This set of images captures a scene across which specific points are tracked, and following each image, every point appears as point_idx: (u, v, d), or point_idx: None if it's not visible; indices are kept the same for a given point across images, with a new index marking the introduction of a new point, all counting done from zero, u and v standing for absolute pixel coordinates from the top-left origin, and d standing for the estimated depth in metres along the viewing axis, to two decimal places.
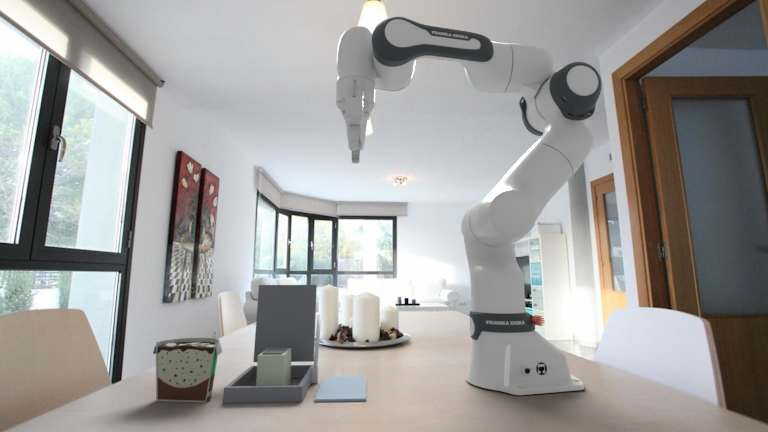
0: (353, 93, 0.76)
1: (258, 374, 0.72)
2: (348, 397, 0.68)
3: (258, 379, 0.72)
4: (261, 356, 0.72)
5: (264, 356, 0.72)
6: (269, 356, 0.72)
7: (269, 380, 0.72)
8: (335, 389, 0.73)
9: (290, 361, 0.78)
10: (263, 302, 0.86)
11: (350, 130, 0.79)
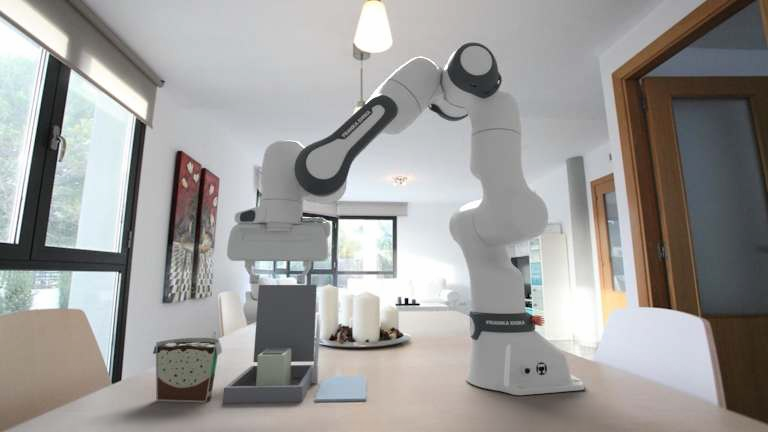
0: (328, 236, 0.80)
1: (258, 374, 0.72)
2: (348, 397, 0.68)
3: (258, 379, 0.72)
4: (261, 356, 0.72)
5: (264, 356, 0.72)
6: (269, 356, 0.72)
7: (269, 380, 0.72)
8: (335, 389, 0.73)
9: (290, 361, 0.78)
10: (263, 302, 0.86)
11: (309, 266, 0.78)
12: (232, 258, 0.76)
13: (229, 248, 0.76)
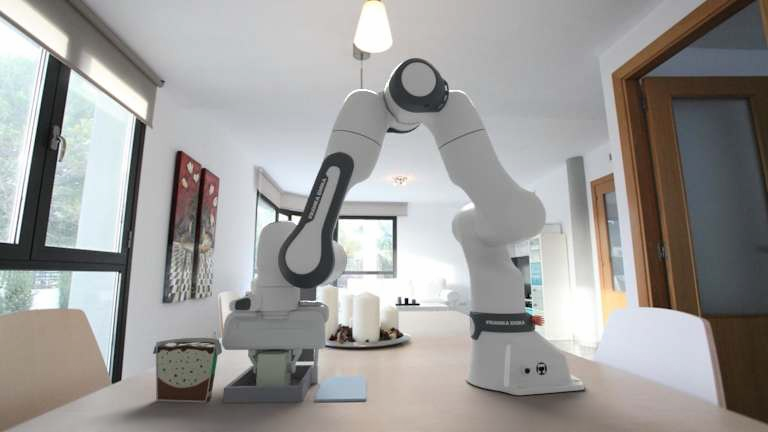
0: (327, 320, 0.77)
1: (258, 374, 0.72)
2: (348, 397, 0.68)
3: (258, 379, 0.72)
4: (261, 356, 0.72)
5: (264, 356, 0.72)
6: (269, 356, 0.72)
7: (269, 380, 0.72)
8: (335, 389, 0.73)
9: (290, 361, 0.78)
10: None
11: (300, 354, 0.75)
12: (227, 348, 0.74)
13: (224, 338, 0.74)
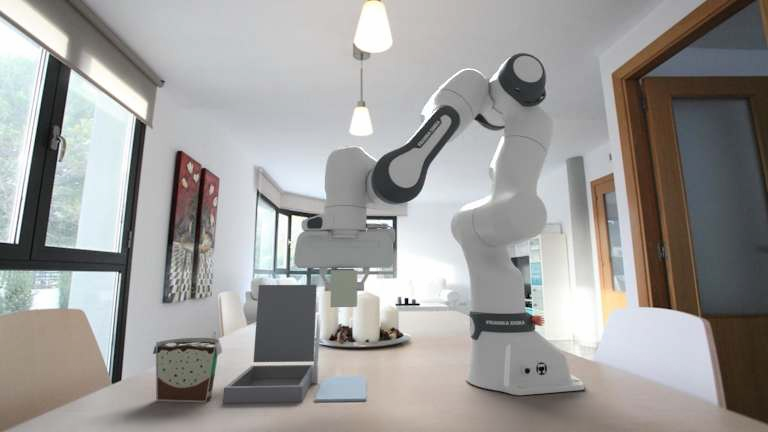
0: (393, 242, 0.79)
1: (332, 288, 0.74)
2: (348, 397, 0.68)
3: (332, 292, 0.74)
4: (334, 271, 0.74)
5: (337, 271, 0.74)
6: (342, 271, 0.74)
7: (343, 294, 0.74)
8: (335, 389, 0.73)
9: None
10: (263, 302, 0.86)
11: None
12: (299, 265, 0.76)
13: (296, 255, 0.76)
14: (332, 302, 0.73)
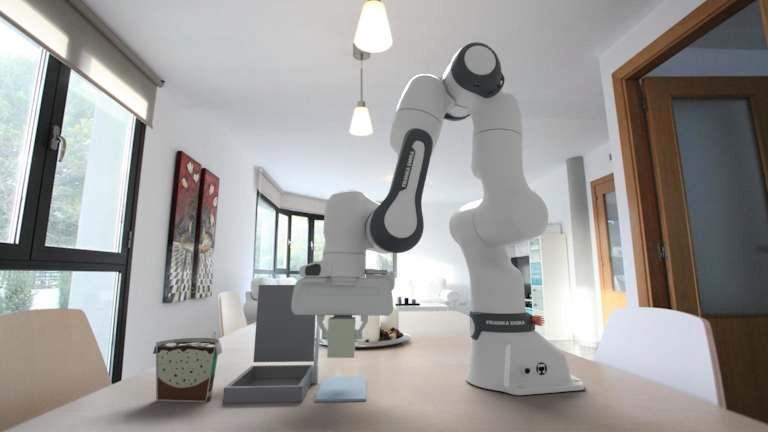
0: (393, 288, 0.78)
1: (329, 337, 0.72)
2: (348, 397, 0.68)
3: (329, 342, 0.72)
4: (332, 320, 0.73)
5: (335, 320, 0.73)
6: (340, 320, 0.73)
7: (340, 344, 0.72)
8: (335, 389, 0.73)
9: None
10: (263, 302, 0.86)
11: (367, 321, 0.76)
12: (297, 313, 0.74)
13: (294, 303, 0.74)
14: (329, 352, 0.72)
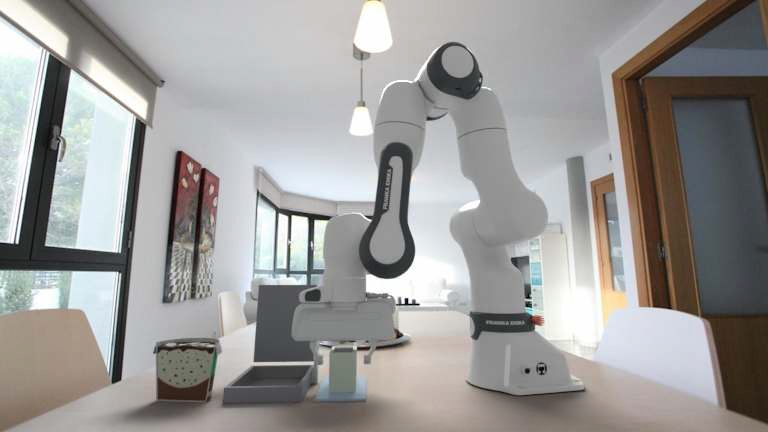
0: None
1: (330, 372, 0.71)
2: (348, 397, 0.68)
3: (330, 377, 0.71)
4: (333, 354, 0.72)
5: (336, 354, 0.72)
6: (341, 354, 0.72)
7: (342, 378, 0.71)
8: None
9: None
10: (263, 302, 0.86)
11: (376, 346, 0.75)
12: (297, 339, 0.74)
13: (294, 329, 0.74)
14: (330, 387, 0.71)
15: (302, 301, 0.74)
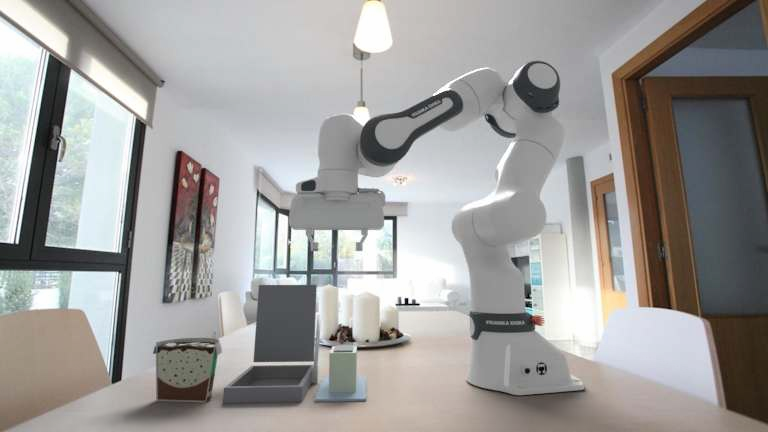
0: (383, 205, 0.83)
1: (330, 372, 0.71)
2: (348, 397, 0.68)
3: (330, 377, 0.71)
4: (333, 354, 0.72)
5: (336, 354, 0.72)
6: (341, 354, 0.72)
7: (342, 378, 0.71)
8: None
9: None
10: (263, 302, 0.86)
11: (367, 234, 0.81)
12: (294, 226, 0.80)
13: (291, 216, 0.80)
14: (330, 387, 0.71)
15: (298, 190, 0.79)
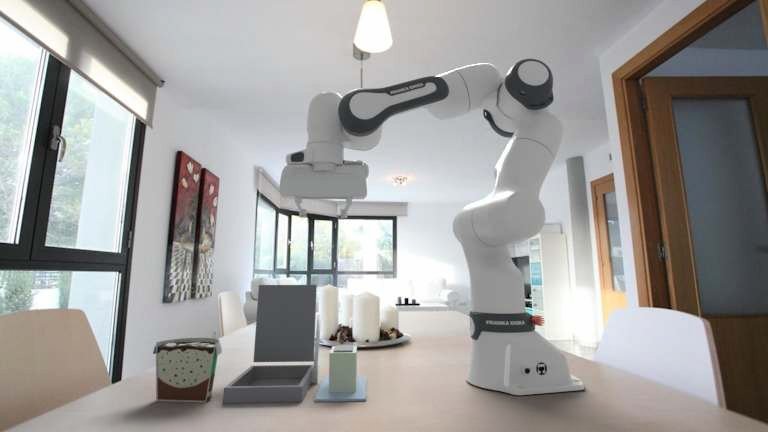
0: (367, 176, 0.90)
1: (330, 372, 0.71)
2: (348, 397, 0.68)
3: (330, 377, 0.71)
4: (333, 354, 0.72)
5: (336, 354, 0.72)
6: (341, 354, 0.72)
7: (342, 378, 0.71)
8: None
9: None
10: (263, 302, 0.86)
11: (351, 202, 0.88)
12: (284, 194, 0.87)
13: (281, 185, 0.87)
14: (330, 387, 0.71)
15: (288, 161, 0.87)
